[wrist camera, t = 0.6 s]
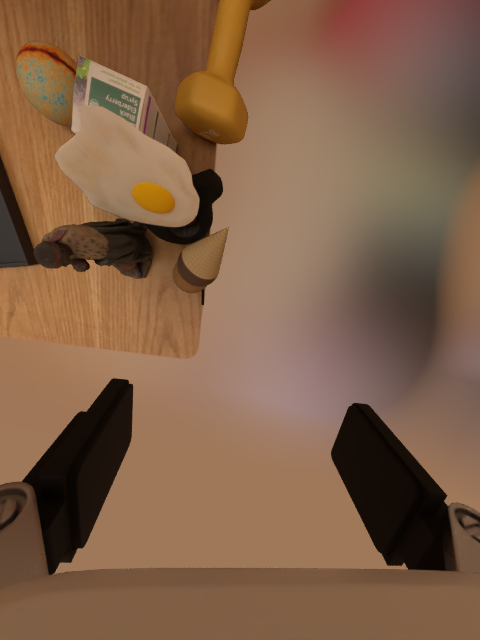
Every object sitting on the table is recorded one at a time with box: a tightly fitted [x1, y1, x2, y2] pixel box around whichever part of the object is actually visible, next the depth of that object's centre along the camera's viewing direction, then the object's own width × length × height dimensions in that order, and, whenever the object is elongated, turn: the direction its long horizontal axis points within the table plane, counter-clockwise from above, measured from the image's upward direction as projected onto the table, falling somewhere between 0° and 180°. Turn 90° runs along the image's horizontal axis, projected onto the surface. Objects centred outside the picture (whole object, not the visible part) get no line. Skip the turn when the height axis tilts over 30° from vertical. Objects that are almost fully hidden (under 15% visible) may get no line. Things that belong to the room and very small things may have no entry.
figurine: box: [34, 218, 151, 279], centre depth 29 cm, size 8×9×18 cm
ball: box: [16, 41, 77, 126], centre depth 28 cm, size 7×7×7 cm
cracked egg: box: [54, 105, 199, 227], centre depth 24 cm, size 14×13×1 cm
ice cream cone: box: [173, 227, 229, 305], centre depth 35 cm, size 7×6×15 cm
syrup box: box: [71, 55, 177, 152], centre depth 27 cm, size 6×6×14 cm
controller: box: [142, 169, 223, 244], centre depth 32 cm, size 4×12×10 cm
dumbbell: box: [174, 0, 270, 144], centre depth 27 cm, size 19×9×8 cm
